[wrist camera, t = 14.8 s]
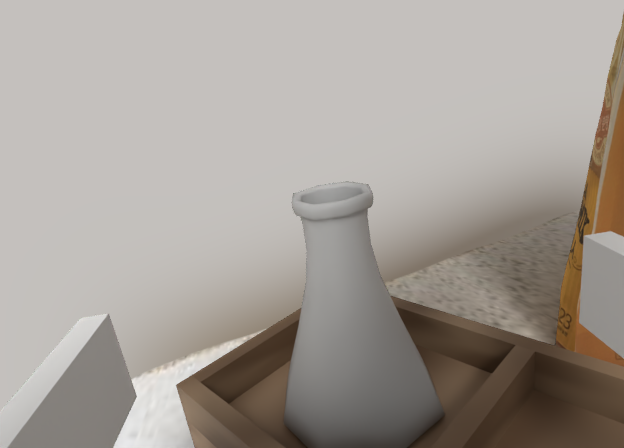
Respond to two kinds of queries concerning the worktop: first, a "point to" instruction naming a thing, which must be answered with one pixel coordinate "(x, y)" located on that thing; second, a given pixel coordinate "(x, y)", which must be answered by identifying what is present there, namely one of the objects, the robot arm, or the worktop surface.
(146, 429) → the worktop surface
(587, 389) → the wooden tray
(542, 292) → the worktop surface
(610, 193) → the pancake mix bag
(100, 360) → the robot arm
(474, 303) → the worktop surface
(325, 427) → the flask
